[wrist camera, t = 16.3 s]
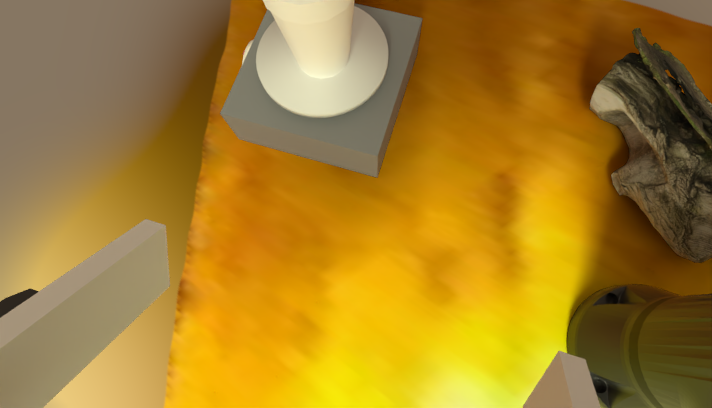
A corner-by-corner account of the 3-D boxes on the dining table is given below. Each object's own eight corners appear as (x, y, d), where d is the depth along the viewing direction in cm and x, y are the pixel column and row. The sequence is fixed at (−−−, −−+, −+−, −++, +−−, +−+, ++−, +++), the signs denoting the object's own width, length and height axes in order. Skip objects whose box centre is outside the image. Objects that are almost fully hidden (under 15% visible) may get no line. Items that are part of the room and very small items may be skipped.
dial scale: (417, 53, 57) (424, 6, 49) (377, 177, 52) (377, 149, 44) (282, 22, 60) (266, -28, 52) (231, 137, 55) (205, 102, 46)
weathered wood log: (573, 97, 60) (536, 71, 49) (670, 37, 52) (651, -9, 41) (677, 275, 51) (658, 291, 40) (814, 237, 43) (837, 244, 32)
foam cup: (311, 104, 46) (287, 22, 33) (269, 50, 48) (233, -45, 36) (378, 61, 47) (379, -33, 34) (334, 10, 49) (320, -94, 37)
